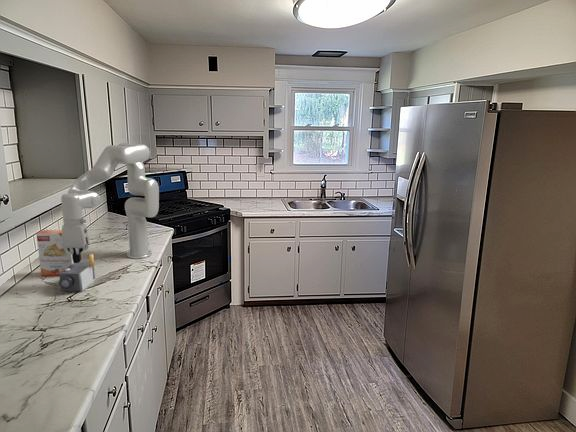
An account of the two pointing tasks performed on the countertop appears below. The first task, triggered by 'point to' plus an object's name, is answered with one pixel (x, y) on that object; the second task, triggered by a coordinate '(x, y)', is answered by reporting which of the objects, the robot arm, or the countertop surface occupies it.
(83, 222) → the robot arm
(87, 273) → the grey blade tan handle
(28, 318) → the countertop surface
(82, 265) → the block
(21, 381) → the countertop surface
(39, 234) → the cracker box
